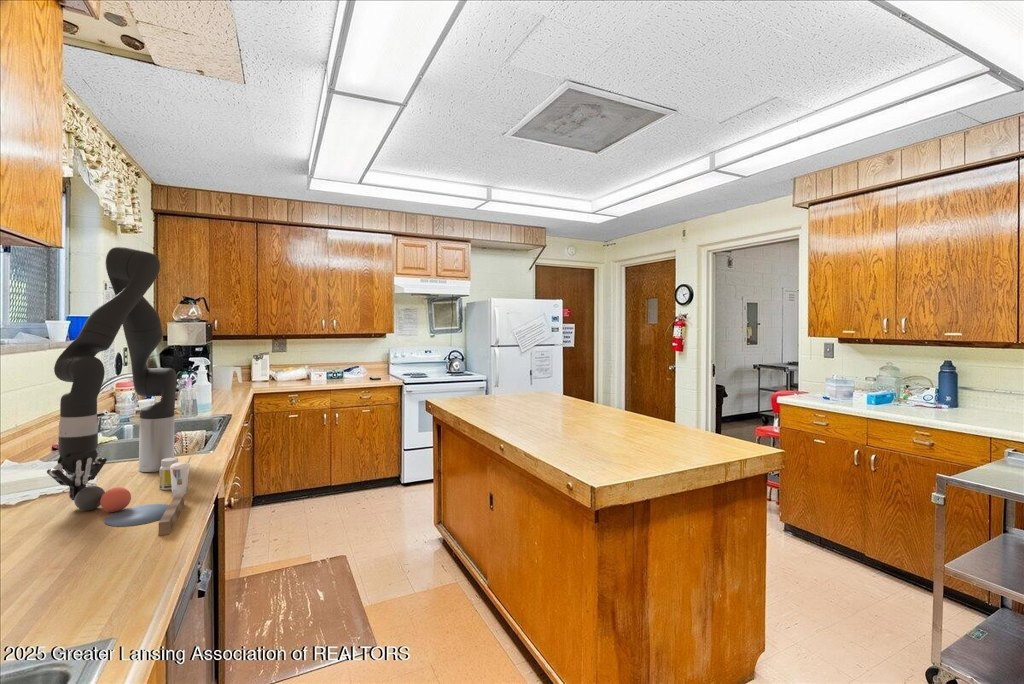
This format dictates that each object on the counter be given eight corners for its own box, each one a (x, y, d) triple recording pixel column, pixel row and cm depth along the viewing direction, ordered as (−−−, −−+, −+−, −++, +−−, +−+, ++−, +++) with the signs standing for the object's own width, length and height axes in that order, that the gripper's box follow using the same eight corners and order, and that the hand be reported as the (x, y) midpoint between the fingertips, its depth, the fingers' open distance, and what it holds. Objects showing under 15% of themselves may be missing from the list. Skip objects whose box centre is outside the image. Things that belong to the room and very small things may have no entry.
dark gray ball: (97, 477, 123) (109, 492, 121) (99, 490, 126) (111, 506, 124) (68, 489, 118) (80, 505, 116) (70, 503, 121) (82, 519, 119)
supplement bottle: (183, 485, 141) (183, 457, 141) (170, 490, 136) (170, 461, 136) (168, 484, 142) (168, 456, 141) (155, 489, 137) (155, 460, 137)
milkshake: (195, 492, 136) (196, 457, 136) (177, 498, 131) (177, 462, 130) (184, 490, 137) (184, 455, 137) (165, 496, 132) (166, 460, 132)
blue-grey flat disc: (128, 505, 125) (128, 504, 125) (186, 504, 127) (186, 503, 127) (89, 527, 111) (89, 526, 111) (155, 525, 113) (155, 524, 113)
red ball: (109, 486, 123) (129, 479, 122) (121, 505, 125) (141, 498, 124) (89, 500, 117) (109, 493, 117) (102, 519, 119) (122, 513, 118)
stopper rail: (175, 505, 126) (175, 494, 125) (184, 504, 126) (184, 493, 126) (158, 535, 108) (158, 522, 108) (169, 534, 108) (169, 521, 108)
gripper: (60, 439, 115) (59, 510, 115) (116, 428, 128) (115, 492, 128) (36, 436, 116) (36, 507, 116) (94, 426, 129) (93, 489, 129)
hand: (77, 499), depth 122 cm, fingers closed
